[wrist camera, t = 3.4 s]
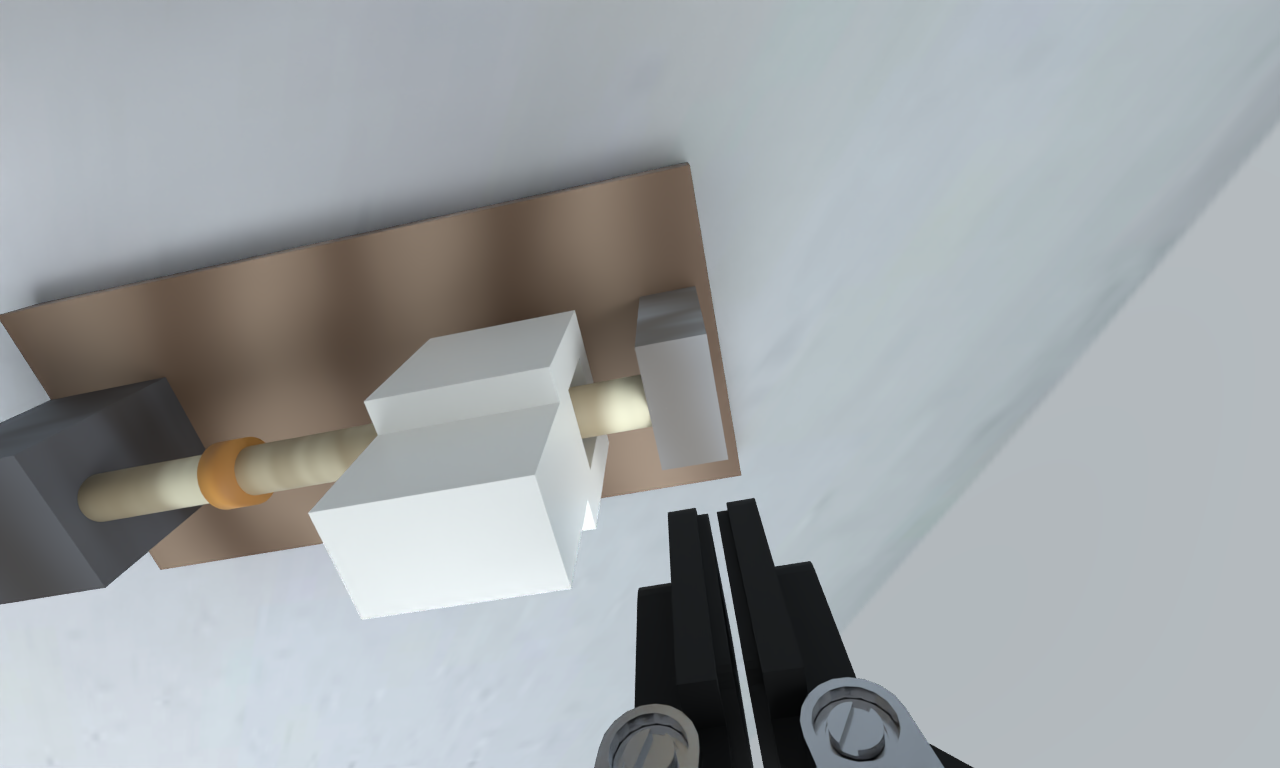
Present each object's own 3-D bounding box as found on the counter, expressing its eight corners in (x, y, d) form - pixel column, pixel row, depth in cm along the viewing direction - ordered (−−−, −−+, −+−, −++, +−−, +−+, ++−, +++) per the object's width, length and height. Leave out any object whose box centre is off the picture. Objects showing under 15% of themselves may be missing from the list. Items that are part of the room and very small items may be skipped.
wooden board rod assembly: (687, 162, 21) (702, 180, 14) (736, 456, 26) (765, 578, 19) (35, 304, 24) (-218, 377, 17) (184, 548, 28) (33, 683, 22)
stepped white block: (574, 310, 20) (521, 431, 12) (608, 443, 22) (582, 622, 14) (430, 338, 20) (288, 473, 12) (475, 465, 22) (377, 651, 14)
